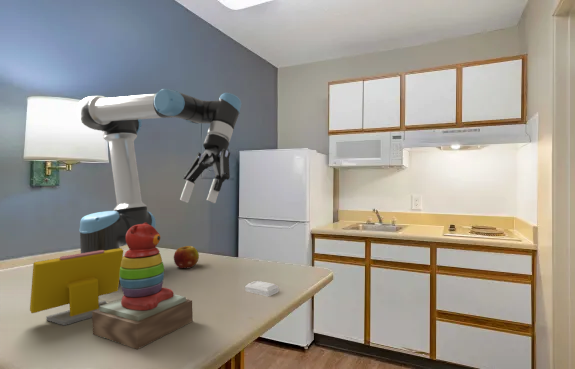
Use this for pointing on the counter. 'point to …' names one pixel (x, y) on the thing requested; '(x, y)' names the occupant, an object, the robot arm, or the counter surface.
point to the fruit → (186, 257)
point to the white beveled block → (262, 288)
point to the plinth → (141, 321)
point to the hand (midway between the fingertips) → (196, 201)
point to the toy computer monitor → (75, 283)
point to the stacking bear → (142, 270)
